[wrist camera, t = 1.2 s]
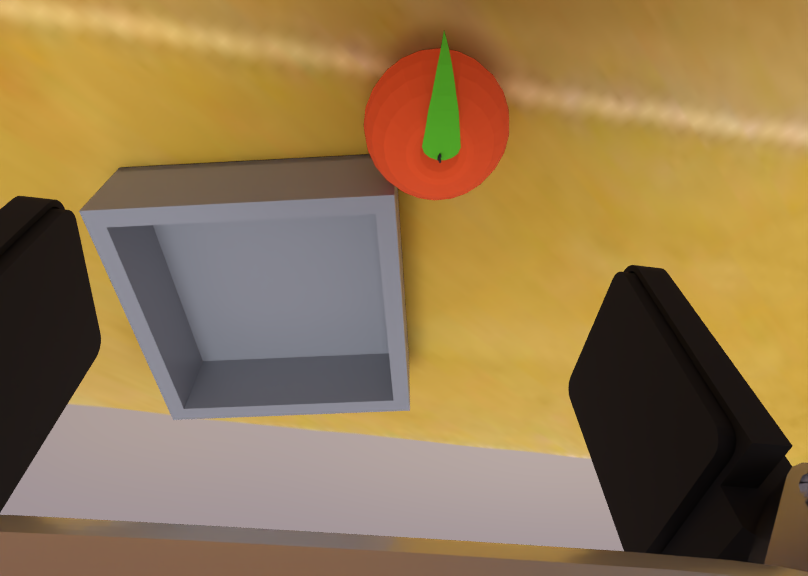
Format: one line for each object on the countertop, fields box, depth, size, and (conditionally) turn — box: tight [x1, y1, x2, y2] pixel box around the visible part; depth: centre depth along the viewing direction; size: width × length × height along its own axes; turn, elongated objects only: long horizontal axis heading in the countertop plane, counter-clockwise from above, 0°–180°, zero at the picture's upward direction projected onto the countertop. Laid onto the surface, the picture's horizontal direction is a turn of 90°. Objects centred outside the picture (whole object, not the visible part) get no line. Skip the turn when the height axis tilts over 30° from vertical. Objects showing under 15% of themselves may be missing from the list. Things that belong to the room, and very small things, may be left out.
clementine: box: [364, 32, 509, 200], centre depth 27 cm, size 8×7×7 cm
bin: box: [79, 154, 410, 420], centre depth 34 cm, size 16×16×5 cm
